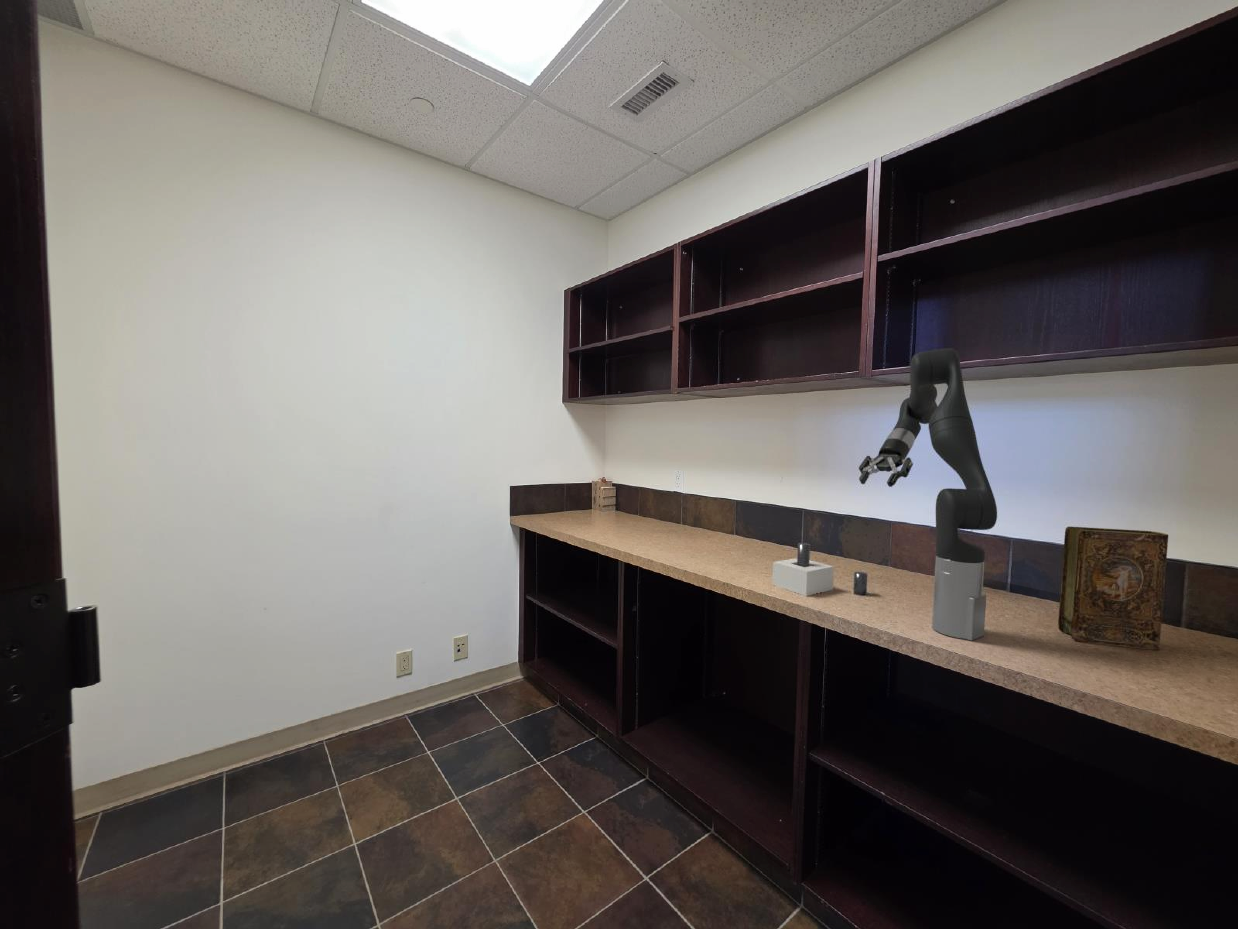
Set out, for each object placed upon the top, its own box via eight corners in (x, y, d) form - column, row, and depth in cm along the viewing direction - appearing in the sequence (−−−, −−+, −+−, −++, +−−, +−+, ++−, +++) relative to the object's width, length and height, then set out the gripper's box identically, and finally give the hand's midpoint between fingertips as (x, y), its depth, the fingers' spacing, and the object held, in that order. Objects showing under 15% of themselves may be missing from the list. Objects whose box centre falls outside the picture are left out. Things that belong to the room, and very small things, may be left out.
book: (1146, 641, 111) (1154, 531, 110) (1164, 651, 106) (1174, 535, 104) (1057, 631, 116) (1064, 526, 114) (1071, 641, 110) (1078, 530, 109)
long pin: (810, 588, 146) (812, 544, 146) (803, 589, 145) (805, 546, 144) (801, 585, 149) (802, 542, 149) (793, 586, 148) (795, 543, 147)
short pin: (869, 594, 141) (870, 573, 141) (862, 596, 140) (863, 575, 139) (857, 591, 144) (858, 571, 144) (850, 593, 143) (851, 572, 142)
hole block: (832, 590, 145) (833, 566, 145) (806, 596, 139) (807, 571, 138) (798, 579, 155) (799, 557, 155) (772, 585, 149) (773, 562, 148)
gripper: (870, 437, 160) (848, 473, 154) (917, 437, 148) (894, 477, 142) (879, 453, 163) (857, 489, 157) (925, 455, 151) (903, 494, 145)
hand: (875, 483), depth 150 cm, fingers open, 8 cm apart
